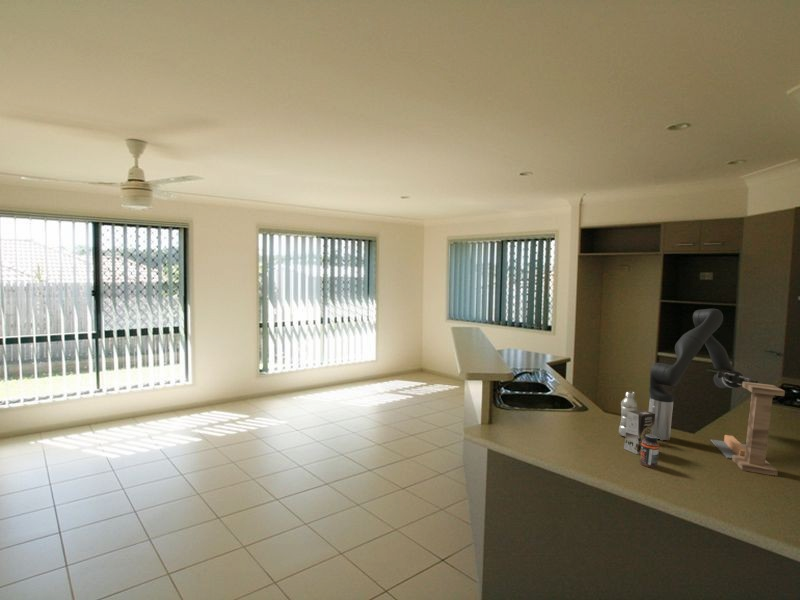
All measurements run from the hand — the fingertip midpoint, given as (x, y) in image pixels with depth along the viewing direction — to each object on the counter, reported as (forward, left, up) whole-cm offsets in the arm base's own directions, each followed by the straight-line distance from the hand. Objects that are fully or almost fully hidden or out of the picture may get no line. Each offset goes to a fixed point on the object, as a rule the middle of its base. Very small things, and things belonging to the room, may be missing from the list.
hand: (739, 379), depth 196 cm
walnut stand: (-7, -18, -30) cm, 36 cm away
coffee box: (-45, -3, -31) cm, 54 cm away
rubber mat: (0, -3, -30) cm, 31 cm away
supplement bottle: (-50, -17, -31) cm, 61 cm away
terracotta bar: (0, -2, -30) cm, 30 cm away
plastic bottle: (-40, +13, -31) cm, 52 cm away
